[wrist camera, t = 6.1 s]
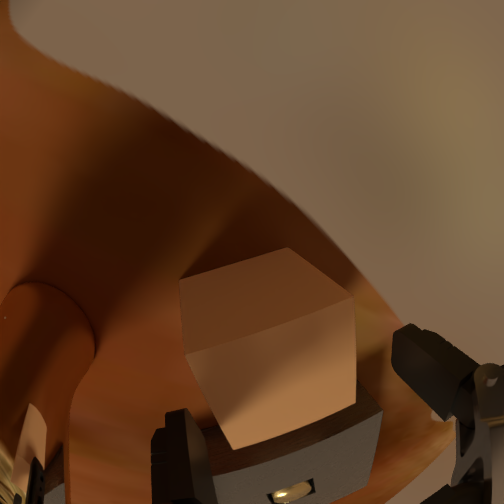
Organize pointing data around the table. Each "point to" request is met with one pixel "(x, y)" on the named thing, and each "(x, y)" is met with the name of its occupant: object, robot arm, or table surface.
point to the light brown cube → (269, 344)
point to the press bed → (300, 458)
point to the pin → (291, 492)
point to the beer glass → (39, 390)
